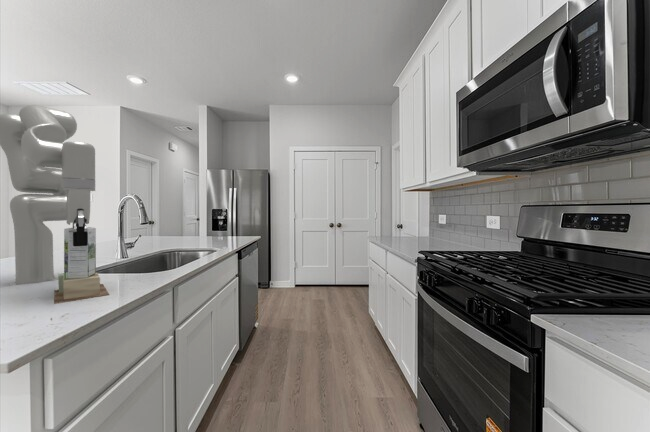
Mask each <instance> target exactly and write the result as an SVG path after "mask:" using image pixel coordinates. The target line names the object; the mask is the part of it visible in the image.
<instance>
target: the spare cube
mask: <svg viewBox="0 0 650 432" xmlns="http://www.w3.org/2000/svg"><path fill="white" fill-rule="evenodd" d="M57 274H58V275H57V276H58V277H57V278H58V280H57V281H58V290H59V293H63V277H64V272H61V273H57Z"/></svg>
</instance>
